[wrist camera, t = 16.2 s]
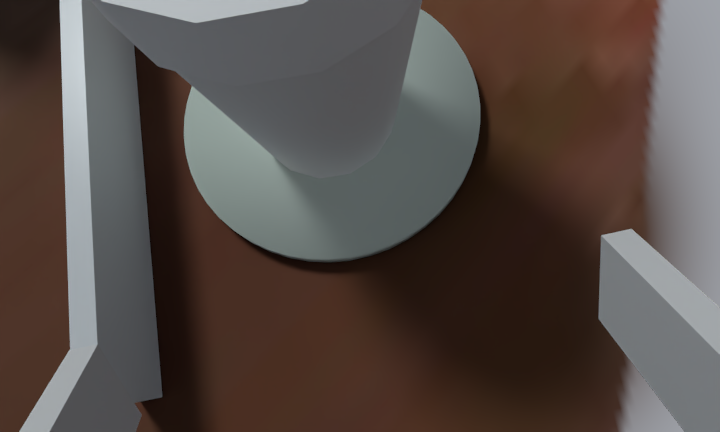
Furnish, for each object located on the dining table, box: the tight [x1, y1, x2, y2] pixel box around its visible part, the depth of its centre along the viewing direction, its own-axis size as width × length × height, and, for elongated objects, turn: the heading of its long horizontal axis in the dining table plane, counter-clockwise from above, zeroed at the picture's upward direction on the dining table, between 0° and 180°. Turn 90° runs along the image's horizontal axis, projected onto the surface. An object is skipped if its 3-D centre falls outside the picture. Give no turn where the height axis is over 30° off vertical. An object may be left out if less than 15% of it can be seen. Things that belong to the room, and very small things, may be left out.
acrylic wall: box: [60, 0, 162, 403], centre depth 22 cm, size 22×1×4 cm, turn 12°
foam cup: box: [90, 0, 422, 179], centre depth 17 cm, size 10×9×13 cm
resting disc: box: [184, 9, 480, 263], centre depth 24 cm, size 14×14×1 cm
